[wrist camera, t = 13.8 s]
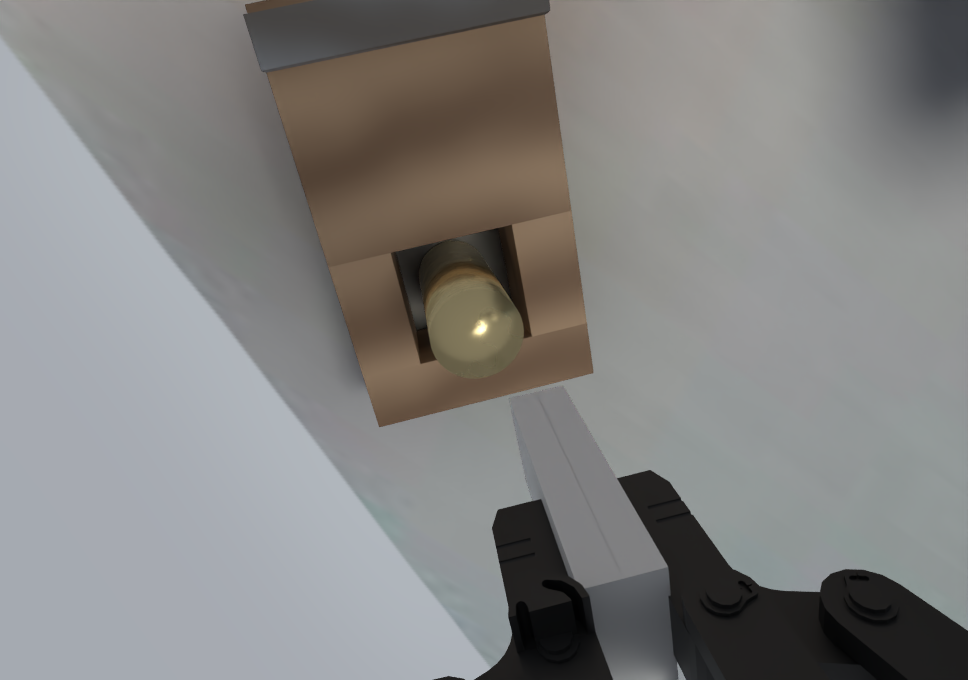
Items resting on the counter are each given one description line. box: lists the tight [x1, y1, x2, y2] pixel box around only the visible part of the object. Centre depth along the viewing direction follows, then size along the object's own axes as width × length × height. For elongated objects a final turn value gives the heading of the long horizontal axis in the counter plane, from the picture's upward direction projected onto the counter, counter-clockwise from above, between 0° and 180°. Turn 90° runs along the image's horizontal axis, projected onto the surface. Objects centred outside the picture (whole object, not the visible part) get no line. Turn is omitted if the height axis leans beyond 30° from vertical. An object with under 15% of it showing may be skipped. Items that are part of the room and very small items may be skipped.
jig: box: [243, 0, 593, 427], centre depth 28 cm, size 20×12×6 cm, turn 12°
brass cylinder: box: [419, 241, 524, 379], centre depth 28 cm, size 4×4×10 cm
